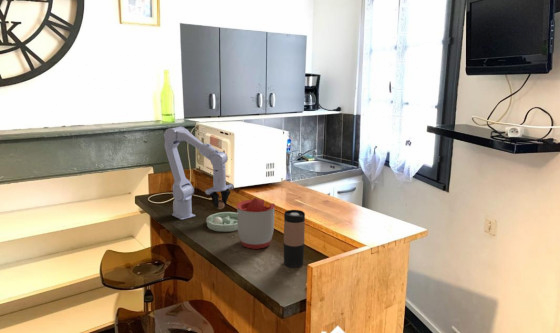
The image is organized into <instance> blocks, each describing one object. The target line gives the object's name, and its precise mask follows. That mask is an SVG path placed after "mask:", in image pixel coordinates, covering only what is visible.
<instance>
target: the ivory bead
mask: <svg viewBox="0 0 560 333" xmlns="http://www.w3.org/2000/svg"><path fill="white" fill-rule="evenodd" d="M214 223H215V224H222V219H221V218H220V217H216V218H215V219H214Z"/></svg>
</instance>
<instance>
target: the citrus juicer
mask: <svg viewBox="0 0 560 333" xmlns="http://www.w3.org/2000/svg"><path fill="white" fill-rule="evenodd" d="M236 208H237V209H236V211H237V212H236V213H237V217H238V230H237V233H238V236H239V241H240V242H241V244H242V246H243V247H245V248H247V249H253V250H257V249H263V248H266V247H268V246H269V245H270V244H271V242H272V238H273V235H274V229H275V213H276V211H275V208H276V205H275V203H274V202H273V203H271V204H269V206H266V205H265V200H264V199H260V198H259V199H258V198H257V197H254V198H253V199H245V200H242V201H239V202H238V203H237V204H236Z"/></svg>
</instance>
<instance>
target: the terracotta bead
mask: <svg viewBox="0 0 560 333" xmlns="http://www.w3.org/2000/svg"><path fill="white" fill-rule="evenodd" d="M224 208H225V206H224V202H223V201H222V200H218V208H217V210H223V209H224Z"/></svg>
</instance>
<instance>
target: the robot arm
mask: <svg viewBox="0 0 560 333" xmlns="http://www.w3.org/2000/svg"><path fill="white" fill-rule="evenodd" d="M163 138H164V149H165V154H166V156H167V160H168V163H169V167H170V170H171V174H172V176H173V181H174V182H173V184H172V197H173V198H174V199H173V201H172V202H173V203H172V210H173V212H172V214H171V216H173V217H175V218H177V219H179V220H186V219H190V218H194V217H196V214H194V213H192V212H193V210H192V197H193V196H192V195H194V192H195V188H194V187H193V185H192V183H191V181H190V180H189V179H188V178H187V177H186V174H185V171H184V168H183V164H182V160H181V156H180V154H179V150H178V146H179V145H180V143H181V142H186V143H188V144H189V145H192V146H193V147H194V148H196V149H198V152H199V154H200V155H202V156H203V157H205V158H206V159H208V160H209V161H210V163H211V165H212V176H213V177H212V178H213V179H212V180H213V184H212V185H213V186H212V187H210V188H207V189H205V194H206V195H209V196H210V198H211V200H212V203H213V207H214V208H216V209H218V201H219V199H220V195H221V201H223V202H224V207H225V206H227V203H228V199H229V197H230V194H231V190H234V184H227V183H226V182H227V181H226V177H227V176H226V175H227V173H226V172H227V171H226V170H227V169H226V167H227V166H226V163H227V162H228V158H229V157H228V155H227V153H225V151H219V149H216V148H215V147H213V146H212V144H211V143H210V142H209V143H208V142H205V143H203V142H202V141H201V140H200V139H198V138H197V137H196V136H195V135H193V134H192V133H191V132H190V131H189V129H187V128H185V126H182V125H181V126H177V127H172V128H171V127H169V128H167V129H166V130H165V132H164V133H163ZM218 192H220V194H219V193H218Z"/></svg>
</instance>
